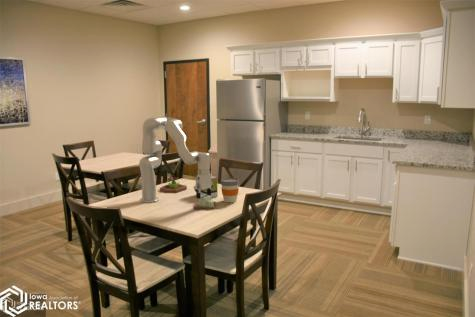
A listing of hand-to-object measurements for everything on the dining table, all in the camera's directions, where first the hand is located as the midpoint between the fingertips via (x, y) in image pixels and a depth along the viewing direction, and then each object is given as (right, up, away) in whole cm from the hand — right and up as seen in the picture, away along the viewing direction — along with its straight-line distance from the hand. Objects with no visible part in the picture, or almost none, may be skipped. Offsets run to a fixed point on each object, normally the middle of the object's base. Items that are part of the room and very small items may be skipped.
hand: (203, 196), depth 251 cm
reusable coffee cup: (+17, -5, +13) cm, 22 cm away
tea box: (0, -2, +27) cm, 28 cm away
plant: (-28, 0, +47) cm, 55 cm away
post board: (+1, -7, +1) cm, 7 cm away
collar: (+2, -6, -1) cm, 6 cm away
